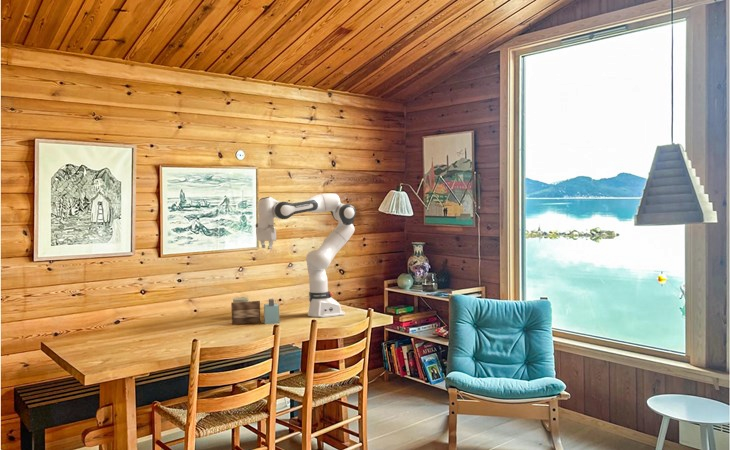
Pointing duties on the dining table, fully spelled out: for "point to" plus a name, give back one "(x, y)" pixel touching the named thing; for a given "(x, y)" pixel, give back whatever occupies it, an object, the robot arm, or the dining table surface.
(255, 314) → the wall board
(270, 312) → the blue square bottle
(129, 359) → the dining table surface
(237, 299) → the can
